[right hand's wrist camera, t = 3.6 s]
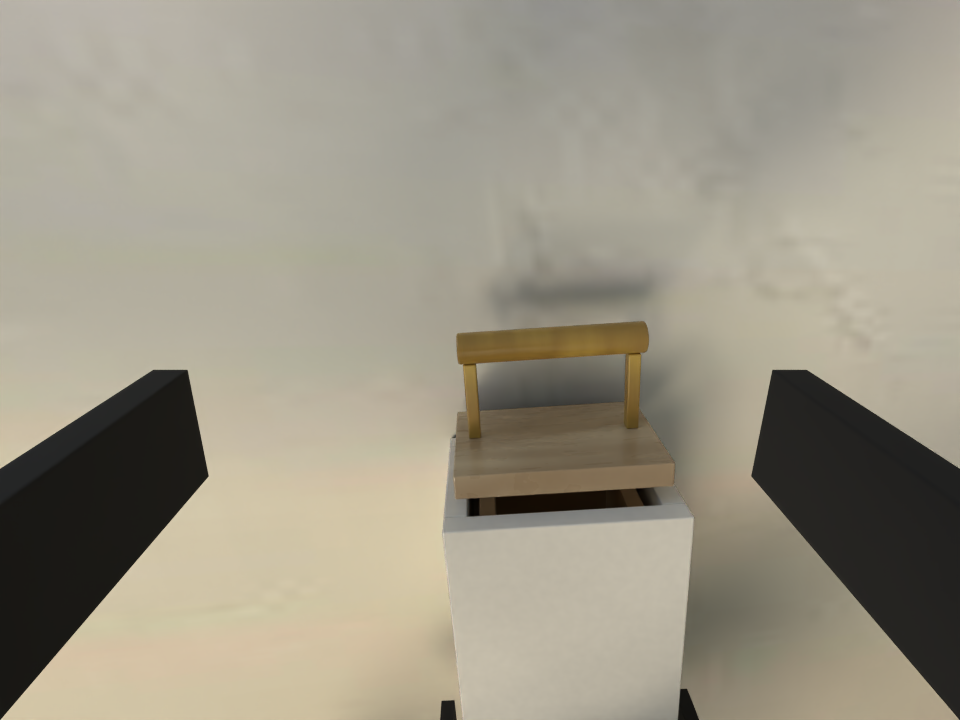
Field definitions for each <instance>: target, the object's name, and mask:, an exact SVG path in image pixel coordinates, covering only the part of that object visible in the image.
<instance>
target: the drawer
mask: <svg viewBox="0 0 960 720" xmlns="http://www.w3.org/2000/svg"><path fill="white" fill-rule="evenodd" d="M456 343H457V357H458V363H459V364H463V371H464V383H465V395H466V407H467V412H458V414H457V428H456V442H455V456H454V470H453V483H454V493H455V499H470V498H479V516H489V515H506V514H522V513H539V512H555V511H572V510H589V509H605V508H622V507H638V506H644V505H643V503H642V501H641V499H640V497H639V494H638V492H637V490H636V488H651V487H667V486H674V473H675V462H674V461H673V459H672V458H671V456H670V454H669V453H668V451H667V450H666V448H665V447H664V445H663V444H662V442H661V441H660V439H659V438H658V436H657V435H656V433H655V432H654V430H653V429H652V427H651V426H650V424H649V422H648V421H647V419H646V418H645V416H644V415H643V413H642V412H641V410H640V409H639V398H640V372H641V354H640V353H644V352H646V351H647V349H648V345H649V333H648V328H647V325H646V323H645V322H643V321H637V322H622V323H606V324H591V325H576V326H561V327H546V328H530V329H515V330H500V331H485V332H470V333H458V334H457V336H456ZM614 354H626V360H625V396H624V402H611V403H595V404H580V405H564V406H548V407H532V408H517V409H501V410H485V411H479V397H478V384H477V370H476V363H491V362H507V361H522V360H537V359H553V358H568V357H584V356H599V355H614Z"/></svg>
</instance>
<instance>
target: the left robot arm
mask: <svg viewBox="0 0 960 720" xmlns="http://www.w3.org/2000/svg"><path fill="white" fill-rule="evenodd" d="M440 720H457V719H456V710H455V702H454V700H451V701H442V703H441V718H440ZM678 720H699V718H698V716H697V713H696V711H695V708H694V705H693V703H692V700H691V698H690V695H689V693H688V690H687V689H680V698H679V710H678Z"/></svg>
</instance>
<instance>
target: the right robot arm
mask: <svg viewBox="0 0 960 720" xmlns="http://www.w3.org/2000/svg"><path fill="white" fill-rule="evenodd" d="M207 478H208V471H207V466H206V461H205V456H204V451H203V446H202V441H201V435H200V430H199V425H198V420H197V415H196V410H195V405H194V400H193V395H192V390H191V385H190V380H189V375H188V370H152V371H151V372H149V373H148V374H146V375H145V376H143V377H142V378H140V379H139V380H137V381H135V382H134V383H132V384H131V385H129V386H128V387H126V388H125V389H123V390H122V391H120V392H118V393H117V394H115V395H114V396H112V397H111V398H109V399H108V400H106V401H104V402H103V403H101V404H100V405H98V406H97V407H95V408H94V409H92V410H91V411H89V412H87V413H86V414H84V415H83V416H81V417H80V418H78V419H77V420H75V421H74V422H72V423H70V424H69V425H67V426H66V427H64V428H63V429H61V430H60V431H58V432H56V433H55V434H53V435H52V436H50V437H49V438H47V439H46V440H44V441H43V442H41V443H39V444H38V445H36V446H35V447H33V448H32V449H30V450H29V451H27V452H26V453H24V454H22V455H21V456H19V457H18V458H16V459H15V460H13V461H12V462H10V463H9V464H7V465H5V466H4V467H2V468H1V469H0V720H1V718H2V717H3V716H4V715H5V714H6V713H7V711H8V710H9V709H10V708H11V707H12V705H13V704H14V703H15V702H16V701H17V700H18V698H19V697H20V696H21V695H22V694H23V693H24V691H25V690H26V689H27V688H28V687H29V686H30V684H31V683H32V682H33V681H34V680H35V679H36V677H37V676H38V675H39V674H40V673H41V672H42V670H43V669H44V668H45V667H46V666H47V665H48V663H49V662H50V661H51V660H52V659H53V658H54V656H55V655H56V654H57V653H58V652H59V651H60V649H61V648H62V647H63V646H64V645H65V644H66V642H67V641H68V640H69V639H70V638H71V637H72V635H73V634H74V633H75V632H76V631H77V630H78V628H79V627H80V626H81V625H82V624H83V622H84V621H85V620H86V619H87V618H88V617H89V615H90V614H91V613H92V612H93V611H94V610H95V608H96V607H97V606H98V605H99V604H100V603H101V601H102V600H103V599H104V598H105V597H106V596H107V594H108V593H109V592H110V591H111V590H112V589H113V587H114V586H115V585H116V584H117V583H118V582H119V580H120V579H121V578H122V577H123V576H124V575H125V573H126V572H127V571H128V570H129V569H130V568H131V566H132V565H133V564H134V563H135V562H136V561H137V559H138V558H139V557H140V556H141V555H142V554H143V552H144V551H145V550H146V549H147V548H148V546H149V545H150V544H151V543H152V542H153V541H154V539H155V538H156V537H157V536H158V535H159V534H160V532H161V531H162V530H163V529H164V528H165V527H166V525H167V524H168V523H169V522H170V521H171V520H172V518H173V517H174V516H175V515H176V514H177V513H178V511H179V510H180V509H181V508H182V507H183V506H184V504H185V503H186V502H187V501H188V500H189V499H190V497H191V496H192V495H193V494H194V493H195V492H196V490H197V489H198V488H199V487H200V486H201V485H202V483H203V482H204V481H205V480H206V479H207ZM752 478H753V479H754V480H755V481H756V482H757V483H758V485H759V486H760V487H761V488H762V489H763V490H764V492H765V493H766V494H767V495H768V496H769V497H770V499H771V500H772V501H773V502H774V503H775V504H776V506H777V507H778V508H779V509H780V510H781V511H782V513H783V514H784V515H785V516H786V517H787V518H788V520H789V521H790V522H791V523H792V524H793V525H794V527H795V528H796V529H797V530H798V531H799V532H800V534H801V535H802V536H803V537H804V538H805V539H806V541H807V542H808V543H809V544H810V545H811V546H812V548H813V549H814V550H815V551H816V552H817V554H818V555H819V556H820V557H821V558H822V559H823V561H824V562H825V563H826V564H827V565H828V566H829V568H830V569H831V570H832V571H833V572H834V573H835V575H836V576H837V577H838V578H839V579H840V580H841V582H842V583H843V584H844V585H845V586H846V587H847V589H848V590H849V591H850V592H851V593H852V594H853V596H854V597H855V598H856V599H857V600H858V601H859V603H860V604H861V605H862V606H863V607H864V608H865V610H866V611H867V612H868V613H869V614H870V615H871V617H872V618H873V619H874V620H875V621H876V622H877V624H878V625H879V626H880V627H881V628H882V630H883V631H884V632H885V633H886V634H887V635H888V637H889V638H890V639H891V640H892V641H893V642H894V644H895V645H896V646H897V647H898V648H899V649H900V651H901V652H902V653H903V654H904V655H905V656H906V658H907V659H908V660H909V661H910V662H911V663H912V665H913V666H914V667H915V668H916V669H917V670H918V672H919V673H920V674H921V675H922V676H923V677H924V679H925V680H926V681H927V682H928V683H929V684H930V686H931V687H932V688H933V689H934V690H935V691H936V693H937V694H938V695H939V696H940V697H941V698H942V700H943V701H944V702H945V703H946V704H947V705H948V707H949V708H950V709H951V710H952V711H953V713H954V714H955V715H956V716H957V717H958V718H959V720H960V469H959V468H958V467H956V466H955V465H953V464H951V463H950V462H948V461H947V460H945V459H944V458H942V457H941V456H939V455H938V454H936V453H934V452H933V451H931V450H930V449H928V448H927V447H925V446H924V445H922V444H921V443H919V442H917V441H916V440H914V439H913V438H911V437H910V436H908V435H907V434H905V433H904V432H902V431H900V430H899V429H897V428H896V427H894V426H893V425H891V424H890V423H888V422H886V421H885V420H883V419H882V418H880V417H879V416H877V415H876V414H874V413H873V412H871V411H869V410H868V409H866V408H865V407H863V406H862V405H860V404H859V403H857V402H856V401H854V400H852V399H851V398H849V397H848V396H846V395H845V394H843V393H842V392H840V391H838V390H837V389H835V388H834V387H832V386H831V385H829V384H828V383H826V382H825V381H823V380H821V379H820V378H818V377H817V376H815V375H814V374H812V373H811V372H809V371H808V370H772V375H771V380H770V385H769V390H768V395H767V400H766V405H765V410H764V415H763V420H762V425H761V430H760V435H759V440H758V446H757V451H756V456H755V461H754V466H753V471H752Z"/></svg>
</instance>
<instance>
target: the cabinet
mask: <svg viewBox="0 0 960 720" xmlns="http://www.w3.org/2000/svg"><path fill="white" fill-rule="evenodd" d="M455 442H456V438H451V441H450V452H449V464H448V475H447V486H446V497H445V508H444V520H443V531H442V535H443V544H444V553H445V562H446V571H447V581H448V590H449V599H450V608H451V617H452V626H453V636H454V645H455V654H456V663H457V672H458V681H459V691H460V700H461V709H462V718H463V720H678V710H679V698H680V686H681V674H682V662H683V650H684V638H685V626H686V614H687V602H688V590H689V577H690V565H691V553H692V541H693V529H694V516H693V515H692V513H691V511H690V510H689V508H688V506H687V505H686V503H685V501H684V499H683V498H682V496H681V495H680V493H679V491H678V490H677V488H676V486H675V485H674V486H667V487H651V488H636V490H637V492H638V494H639V497H640V499H641V501H642V503H643V505H644V506H638V507H622V508H605V509H589V510H572V511H555V512H539V513H522V514H506V515H489V516H479V498H470V499H455V493H454V483H453V470H454V456H455Z"/></svg>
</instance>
